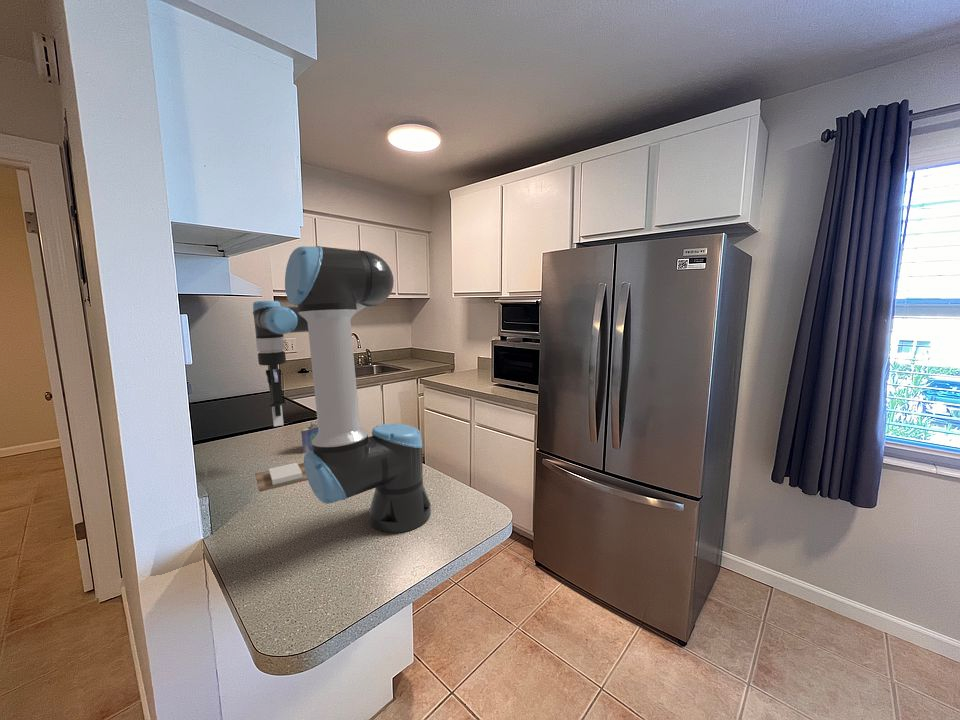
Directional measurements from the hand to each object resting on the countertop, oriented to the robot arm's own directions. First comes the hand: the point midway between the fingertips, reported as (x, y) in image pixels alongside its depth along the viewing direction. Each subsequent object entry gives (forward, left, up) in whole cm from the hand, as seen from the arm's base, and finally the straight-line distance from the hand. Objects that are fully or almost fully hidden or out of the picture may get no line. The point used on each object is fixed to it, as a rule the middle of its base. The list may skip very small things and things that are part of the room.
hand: (278, 425), depth 122 cm
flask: (+11, -12, -15) cm, 22 cm away
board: (-7, 0, -15) cm, 16 cm away
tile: (-3, 0, -13) cm, 14 cm away
